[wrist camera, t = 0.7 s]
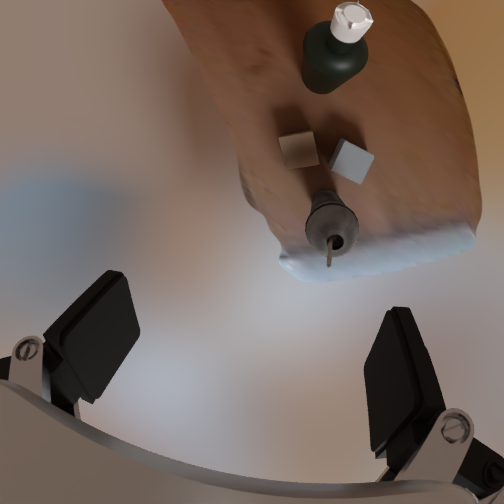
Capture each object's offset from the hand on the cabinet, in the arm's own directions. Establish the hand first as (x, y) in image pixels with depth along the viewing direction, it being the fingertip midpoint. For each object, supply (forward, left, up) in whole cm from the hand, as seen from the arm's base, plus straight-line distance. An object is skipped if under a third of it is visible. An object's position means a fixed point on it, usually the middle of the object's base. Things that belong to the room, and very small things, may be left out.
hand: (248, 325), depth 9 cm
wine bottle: (-13, +4, -39) cm, 41 cm away
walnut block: (-1, +1, -39) cm, 39 cm away
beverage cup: (+8, +6, -39) cm, 40 cm away
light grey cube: (0, +9, -39) cm, 40 cm away
